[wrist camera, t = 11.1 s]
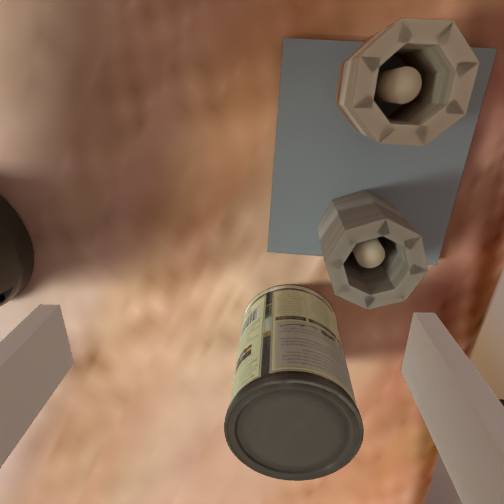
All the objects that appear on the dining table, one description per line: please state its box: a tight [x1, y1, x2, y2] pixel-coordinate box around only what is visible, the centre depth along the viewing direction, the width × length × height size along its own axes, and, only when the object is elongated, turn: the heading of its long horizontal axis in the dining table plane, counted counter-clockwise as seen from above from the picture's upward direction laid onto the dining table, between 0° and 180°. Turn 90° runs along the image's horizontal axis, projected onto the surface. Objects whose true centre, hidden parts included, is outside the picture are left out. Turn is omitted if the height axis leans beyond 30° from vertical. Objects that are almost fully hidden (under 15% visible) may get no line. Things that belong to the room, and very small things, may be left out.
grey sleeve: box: [316, 190, 428, 310], centre depth 31 cm, size 7×7×8 cm
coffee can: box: [224, 285, 364, 481], centre depth 34 cm, size 10×10×14 cm
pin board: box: [267, 38, 497, 268], centre depth 30 cm, size 16×18×7 cm
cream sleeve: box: [336, 18, 479, 146], centre depth 26 cm, size 7×7×8 cm
